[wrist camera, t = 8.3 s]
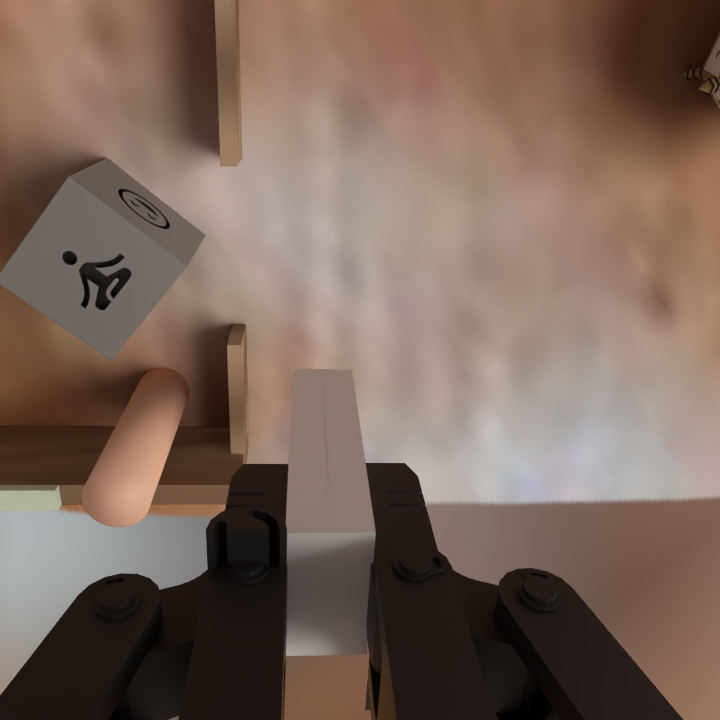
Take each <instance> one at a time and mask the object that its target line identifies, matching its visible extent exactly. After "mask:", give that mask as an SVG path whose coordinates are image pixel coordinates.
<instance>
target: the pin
mask: <svg viewBox="0 0 720 720" xmlns="http://www.w3.org/2000/svg"><path fill="white" fill-rule="evenodd" d="M188 397H189V387H188V384H187V382H186V381H185V379H184V378H183V377H182V376H181V375H180V374H179V373H177V372H175V371H173V370H170V369H166V368H158V369H153V370H151V371H149V372H147V373H146V374H145V375H144V376H143V377H142V378H141V380H140V382H139V384H138V385H137V387H136V389H135V391H134V393H133V395H132V397H131V399H130V401H129V402H128V404H127V406H126V408H125V410H124V412H123V414H122V416H121V418H120V419H119V421H118V423H117V425H116V427H115V429H114V431H113V433H112V435H111V436H110V438H109V440H108V442H107V444H106V446H105V448H104V450H103V452H102V453H101V455H100V457H99V459H98V461H97V463H96V465H95V467H94V469H93V470H92V472H91V474H90V476H89V478H88V480H87V482H86V484H85V486H84V488H83V490H82V495H81V499H82V504H83V507H84V509H85V510H86V512H87V513H88V514H89V515H90V516H91V517H92V518H93V519H94V520H96V521H97V522H100V523H101V524H104V525H107V526H112V527H126V526H130V525H133V524H135V523H137V522H139V521H140V520H141V519H143V518H144V517H145V515H146V514H147V512H148V510H149V507H150V505H151V502H152V499H153V496H154V493H155V490H156V488H157V485H158V482H159V479H160V476H161V473H162V471H163V468H164V465H165V462H166V459H167V457H168V454H169V451H170V448H171V445H172V442H173V440H174V437H175V434H176V431H177V428H178V425H179V423H180V420H181V417H182V414H183V411H184V408H185V406H186V403H187V400H188Z"/></svg>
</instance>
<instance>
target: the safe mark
mask: <svg viewBox="0 0 720 720" xmlns="http://www.w3.org/2000/svg"><path fill="white" fill-rule="evenodd" d="M61 505H62V504H61V497H60V491H59V485H0V511H1V510H2V511H4V510H59V508H60V507H61Z"/></svg>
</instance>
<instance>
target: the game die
mask: <svg viewBox="0 0 720 720" xmlns="http://www.w3.org/2000/svg"><path fill="white" fill-rule="evenodd" d="M681 76H683V77H685V78H687V80H690V81H691V80H692V79H696V80H697V79H698V78H699V77H701V76H702V78H703V80H704V81H703V84H702V85H701V86H700V88H699V90H702V91H703V92H704V93H706V94H708V95H711V96H712V98H713V100H714V102H715V104H716V106H717V108H718V110H719V112H720V32H719V34H718V36H717V38H716V40H715V42H714V44H713V46H712V49H711V51H710V53H709V55H708V57H707V59H706V61H705V63H704V65H703V67H702V68H700V67H698V66H695V67H692V66H690V67H689V68H688V69H687V70H686V71H685V72H683V73H682V74H681Z"/></svg>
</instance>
